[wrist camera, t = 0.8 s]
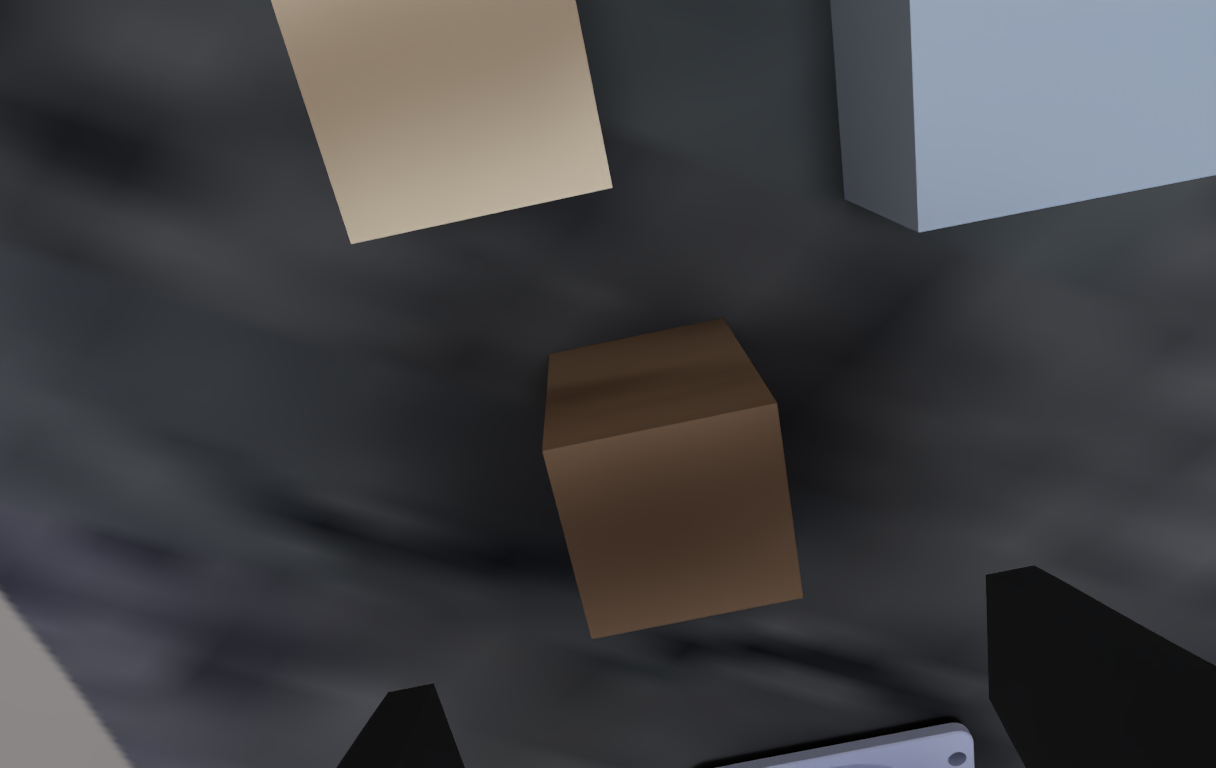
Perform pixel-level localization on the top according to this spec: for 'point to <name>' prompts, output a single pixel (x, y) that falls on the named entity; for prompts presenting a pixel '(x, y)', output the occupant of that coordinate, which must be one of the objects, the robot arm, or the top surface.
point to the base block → (1019, 103)
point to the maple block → (445, 106)
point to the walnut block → (669, 479)
